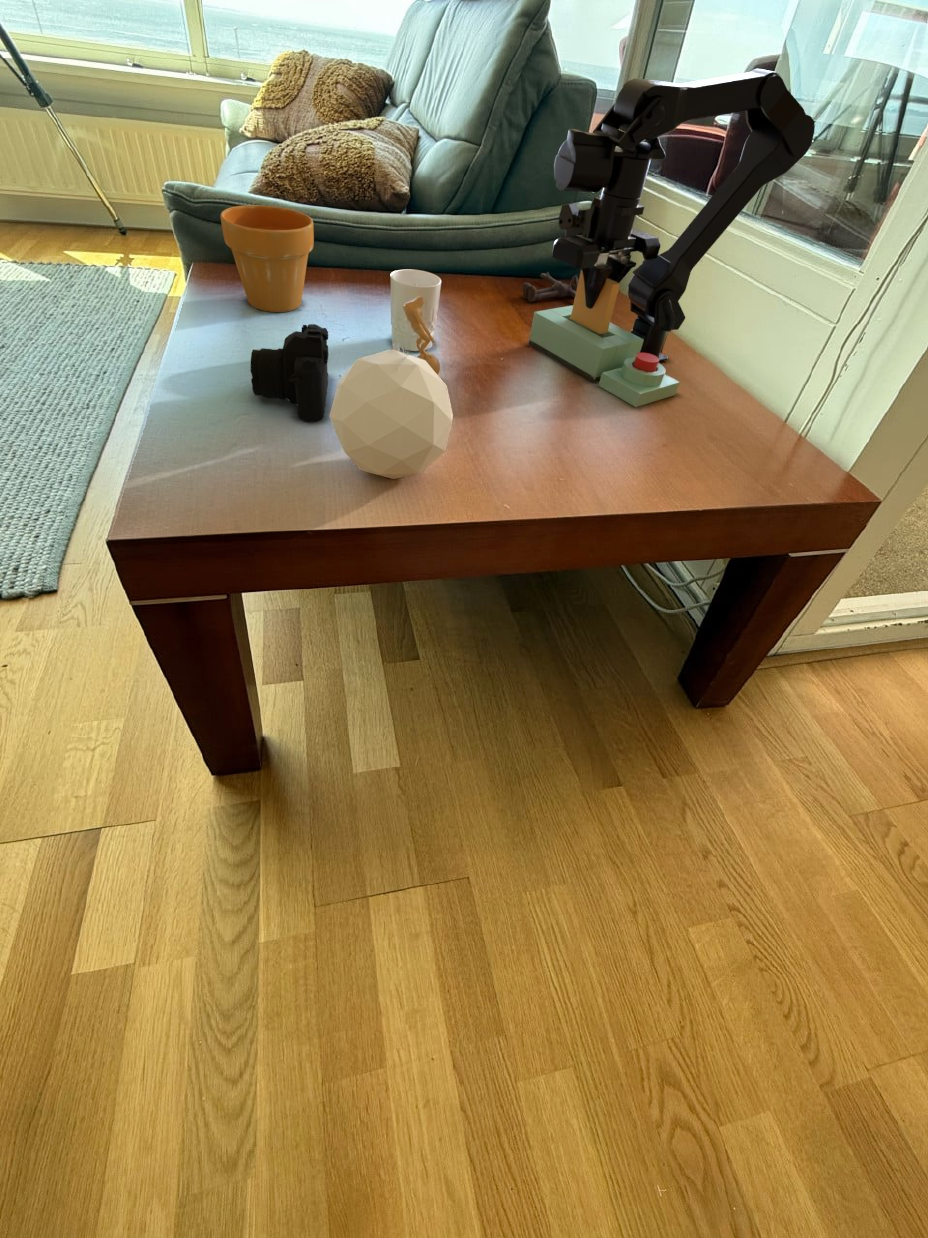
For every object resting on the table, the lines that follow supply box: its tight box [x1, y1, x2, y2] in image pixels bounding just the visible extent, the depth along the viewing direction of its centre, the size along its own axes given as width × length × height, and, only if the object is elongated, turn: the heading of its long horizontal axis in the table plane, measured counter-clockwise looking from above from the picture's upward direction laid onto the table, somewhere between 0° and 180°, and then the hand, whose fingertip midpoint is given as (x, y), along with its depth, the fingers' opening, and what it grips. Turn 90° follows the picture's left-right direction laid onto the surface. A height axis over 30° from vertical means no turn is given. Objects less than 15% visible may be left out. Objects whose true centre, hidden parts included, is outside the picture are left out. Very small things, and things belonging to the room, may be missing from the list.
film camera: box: [250, 323, 329, 423], centre depth 83 cm, size 15×10×9 cm, turn 5°
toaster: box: [527, 304, 644, 384], centre depth 106 cm, size 10×16×6 cm, turn 38°
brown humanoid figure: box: [522, 271, 579, 303], centre depth 128 cm, size 18×4×14 cm
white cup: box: [389, 268, 443, 352], centre depth 101 cm, size 8×8×10 cm
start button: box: [633, 353, 660, 372], centre depth 98 cm, size 4×4×2 cm
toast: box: [570, 269, 621, 334], centre depth 102 cm, size 2×7×8 cm, turn 38°
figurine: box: [403, 296, 441, 376], centre depth 90 cm, size 8×6×12 cm
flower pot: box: [220, 204, 315, 313], centre depth 105 cm, size 14×14×13 cm
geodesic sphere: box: [328, 342, 454, 480], centre depth 72 cm, size 15×14×14 cm
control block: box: [598, 357, 681, 408], centre depth 100 cm, size 10×8×4 cm
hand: (593, 306), depth 102 cm, fingers closed on toast, 2 cm apart
